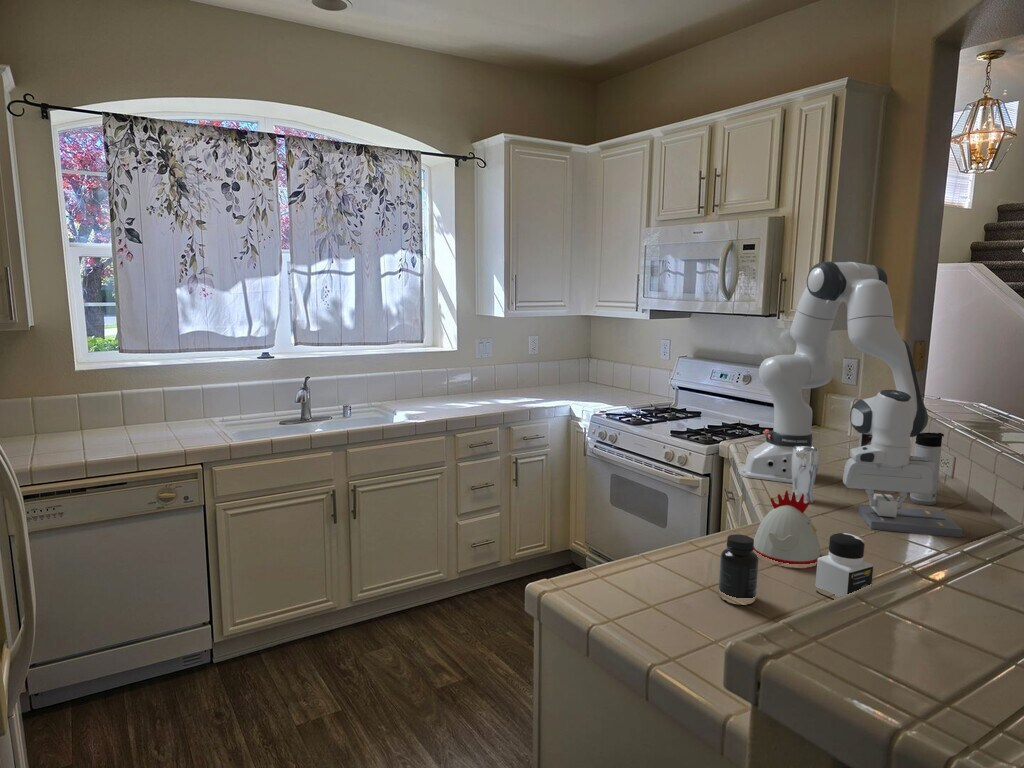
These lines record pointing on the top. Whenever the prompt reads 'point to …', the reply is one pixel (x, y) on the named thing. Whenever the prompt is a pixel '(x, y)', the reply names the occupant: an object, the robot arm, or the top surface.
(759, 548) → the kitchen timer
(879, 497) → the fader knob
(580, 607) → the top surface
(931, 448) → the travel mug
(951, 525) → the fader panel
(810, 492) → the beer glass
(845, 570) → the medicine bottle
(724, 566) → the supplement bottle
